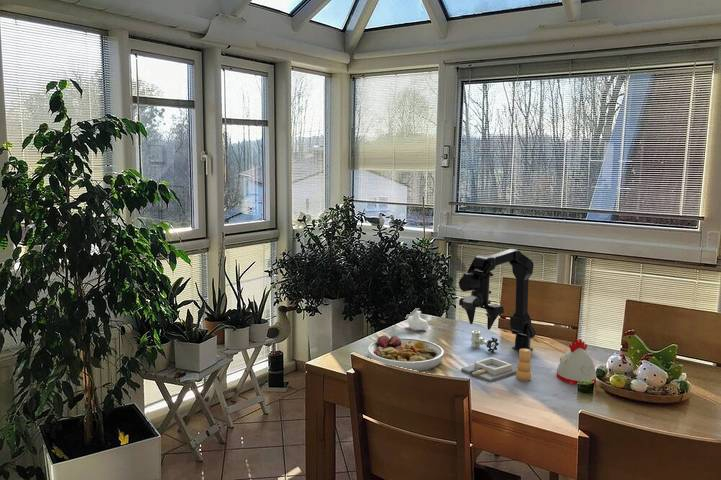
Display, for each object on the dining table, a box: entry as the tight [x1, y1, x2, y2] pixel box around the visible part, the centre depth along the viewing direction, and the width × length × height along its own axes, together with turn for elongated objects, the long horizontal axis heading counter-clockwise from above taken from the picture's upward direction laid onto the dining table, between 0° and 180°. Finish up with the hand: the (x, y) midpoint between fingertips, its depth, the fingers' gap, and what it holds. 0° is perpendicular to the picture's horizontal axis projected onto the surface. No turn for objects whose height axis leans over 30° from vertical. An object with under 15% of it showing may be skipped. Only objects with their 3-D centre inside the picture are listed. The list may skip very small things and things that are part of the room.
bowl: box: [367, 334, 444, 372], centre depth 240 cm, size 30×30×8 cm
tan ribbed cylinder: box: [515, 349, 532, 382], centre depth 222 cm, size 5×5×11 cm
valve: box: [470, 330, 500, 354], centre depth 256 cm, size 7×7×12 cm
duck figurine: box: [406, 309, 429, 331], centre depth 282 cm, size 12×8×11 cm
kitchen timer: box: [556, 338, 597, 386], centre depth 223 cm, size 14×14×15 cm
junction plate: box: [460, 356, 518, 383], centre depth 230 cm, size 21×14×3 cm, turn 127°
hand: (479, 326), depth 238 cm, fingers open, 9 cm apart
